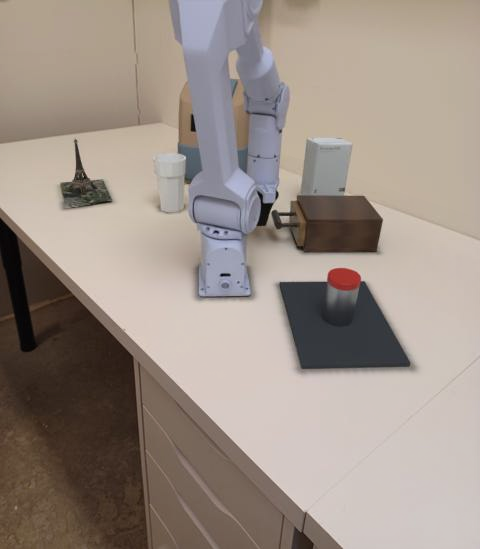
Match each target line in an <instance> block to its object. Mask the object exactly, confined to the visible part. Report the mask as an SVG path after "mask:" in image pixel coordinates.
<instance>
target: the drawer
mask: <svg viewBox="0 0 480 549" xmlns="http://www.w3.org/2000/svg"><path fill="white" fill-rule="evenodd" d="M270 215H271V218H272V222H273V224H274V228H275V229H276V230H281V229H283V228H290V230H291V232H292V235H293V237H294V240H295V242H296V244H297V247H302V246H304V243H305V235H306V226H307V220H306V218H305V216H304V214H303V213H302V211H301V209H300V207H299V205H298V202H297V201H296V200H290V208H289V212H287V211H286V212H285V211H278V210H277V209H273V210H271V211H270ZM281 217H289V219H288V222H282V219H281Z"/></svg>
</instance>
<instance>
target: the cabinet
mask: <svg viewBox="0 0 480 549" xmlns="http://www.w3.org/2000/svg"><path fill="white" fill-rule="evenodd" d="M295 201H297V202H298V205H299V207H300V209H301V211H302V213H303V214H304V216H305V218H306V220H307V226H306V235H305V243H304V246H301V247H302V249H303V252H304V253H377V251H378V247H379V242H380V237H381V231H382V227H383V224H384V219H383V217H382V215H380V213H379V212H378V211H377V210H376V208H375V207H374V206H373V205H372V203H371V202H370V201H369V200H368V198H367V197H366V196H365V195H344V196H332V195H300V194H297V195H296V200H295Z"/></svg>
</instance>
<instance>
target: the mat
mask: <svg viewBox="0 0 480 549" xmlns="http://www.w3.org/2000/svg"><path fill="white" fill-rule="evenodd" d="M326 286H327V281H279V288H280V292H281V295H282V299H283V303H284V307H285V311H286V314H287V317H288V322H289V325H290V329H291V333H292V336H293V341H294V343H295V347H296V351H297V355H298V359H299V362H300V367H301V369H305V370H306V369H307V370H308V369H309V370H310V369H344V368H345V369H346V368H391V367H392V368H393V367H395V368H396V367H410V366H411V361H410V359H409V358H408V356H407V354H406V352H405V350H404V348H403V347H402V345H401V343H400V341H399V340H398V338H397V336H396V334H395V333H394V331H393V329H392V327H391V326H390V324H389V322H388V320H387V318H386V317H385V315H384V313H383V311H382V310H381V308H380V306H379V304H378V303H377V301H376V299H375V297H374V295H373V294H372V292H371V290H370V289H369V286H368V285H367V284H366V281H365V280H361V282H360V286H359V291H358V296H357V301H356V307H355V312H354V317H353V321H352V323H351V324H349V325H347V326H334V325H331V324H329V323H327V322H326V321H325V320H324V319H323V317H322V313H323V306H324V299H325V293H326Z"/></svg>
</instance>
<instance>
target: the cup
mask: <svg viewBox="0 0 480 549" xmlns="http://www.w3.org/2000/svg"><path fill="white" fill-rule="evenodd" d="M152 160H153V169H154V173H155V175H156V180H157V190H158V198H159V209H160V210H161V212H166V213H179V212H181V211H182V210H184V209H185V205H184V204H185V180H184V176H185V172H186V157H185V156H184V155H181V154H178V153H176V152H165V153H164V152H163V153H159V154H156V155H154V156H153V158H152Z"/></svg>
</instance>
